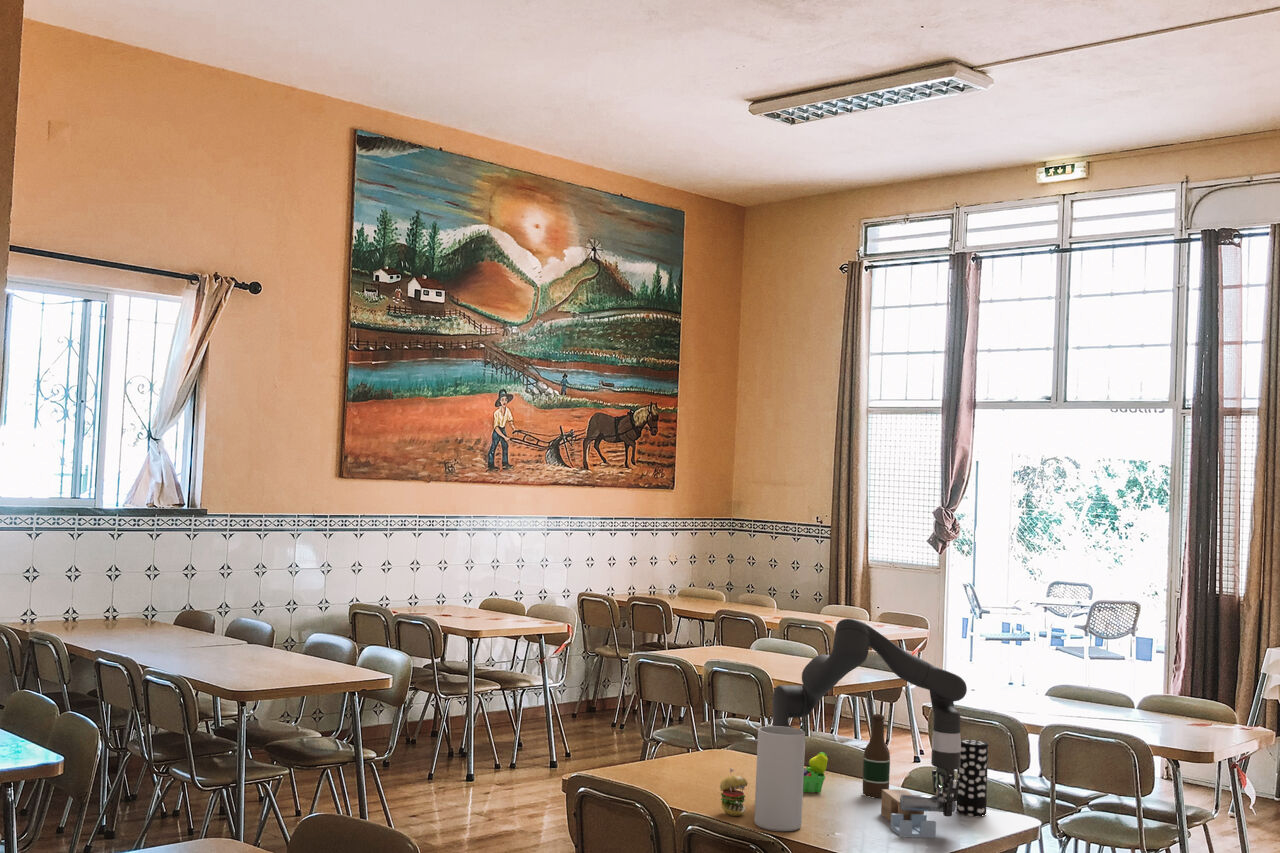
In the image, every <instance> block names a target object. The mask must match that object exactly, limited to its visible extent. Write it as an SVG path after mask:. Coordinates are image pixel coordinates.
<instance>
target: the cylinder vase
mask: <svg viewBox="0 0 1280 853" xmlns="http://www.w3.org/2000/svg"><path fill="white" fill-rule="evenodd" d="M791 727H792V726H791ZM791 727H782V726H773V725H767V726H761V727H758V729H757V746H756V747H757V748H756V749H757V750H756V772H755V773H756V774H755V794H754V819H753V822H754V824H755V825H756V826H757V827H759V828H760V829H764V830H766V831H771V832H772V831H774V832H794V831H797V830H799V829H801V827H802V824H803V822H802V818H803V803H802V798H804V792H803V773H804V768H805V754H804V748H806V731H804V730H802V729H799V728H795V727H793V728H791Z"/></svg>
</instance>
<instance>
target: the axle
mask: <svg viewBox="0 0 1280 853" xmlns="http://www.w3.org/2000/svg"><path fill="white" fill-rule="evenodd" d="M956 802H957V801H954V802H952V813H955V811H956ZM943 803H944V800H943V796H936V795H924V794H922V795H919V794H912V795H901V797H900V807H901V810H903V811H924V812H935V813H936V812H938V813H943Z"/></svg>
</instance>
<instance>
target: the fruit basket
mask: <svg viewBox="0 0 1280 853" xmlns="http://www.w3.org/2000/svg"><path fill="white" fill-rule="evenodd" d="M827 756H828V755H827V754H826V753H825V752H823V751H821V752H819V753H817V755H815V756H814V757H811V758H810V759H809V761H808V765H809V766H806V767H804V779H803V793H809V792H818V793H817V794H821V791H822V788H823V784H824V781H825V778H826V775H825V774H824V773H825V772H826V771H827V767H828V765H827V764H828V760H829V759H828V757H827Z"/></svg>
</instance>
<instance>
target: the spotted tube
mask: <svg viewBox="0 0 1280 853" xmlns="http://www.w3.org/2000/svg"><path fill="white" fill-rule="evenodd" d="M988 760H989V743H988V742H986V741H983V740H978V739H977V740H976V739H970V738H969V739H968V738H967V739H966V738H964V739H961V757H960V767H959V768H958V769H956V770H957V772H956V773H957V775H956V777H957V778H956V780H958V781H959V789H958V795H957V801H956V809H955V811H957V812H956V813H958V814H960V815H963V814H964V815H963V816H967V815H969V816H968V817H976V816H980V817H983V816H982V815H985V814H986V815H987V802H988V801H987V800H988V799H987V798H988V797H987V796H988V795H987V794H988V768H989V767H988V766H989V765H988V764H989V763H988ZM986 815H985V816H986Z"/></svg>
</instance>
